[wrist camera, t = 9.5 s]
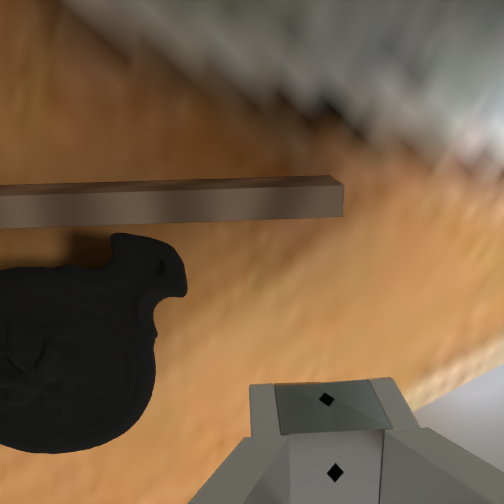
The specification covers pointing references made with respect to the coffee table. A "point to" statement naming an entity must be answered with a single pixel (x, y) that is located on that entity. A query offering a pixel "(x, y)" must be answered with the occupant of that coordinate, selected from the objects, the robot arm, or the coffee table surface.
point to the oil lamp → (82, 346)
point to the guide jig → (169, 201)
